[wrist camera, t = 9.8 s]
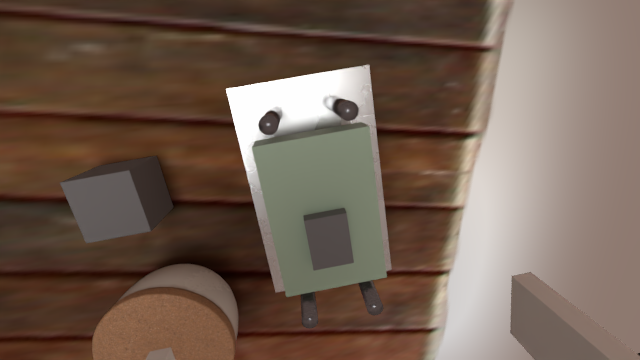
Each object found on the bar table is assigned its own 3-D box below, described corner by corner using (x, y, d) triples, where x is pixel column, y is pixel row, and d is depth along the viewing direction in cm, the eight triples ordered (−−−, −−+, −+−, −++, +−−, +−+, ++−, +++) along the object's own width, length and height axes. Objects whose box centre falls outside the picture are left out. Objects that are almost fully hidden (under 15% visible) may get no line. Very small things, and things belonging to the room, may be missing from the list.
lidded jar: (159, 227, 30) (103, 287, 21) (264, 268, 32) (254, 339, 23) (122, 315, 32) (57, 403, 23) (222, 348, 34) (198, 440, 25)
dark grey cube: (119, 217, 29) (86, 243, 24) (99, 165, 28) (59, 182, 23) (173, 207, 29) (150, 231, 25) (156, 155, 28) (129, 170, 23)
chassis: (276, 286, 33) (271, 357, 24) (228, 89, 27) (199, 91, 18) (388, 264, 33) (422, 326, 25) (366, 65, 27) (401, 56, 19)
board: (286, 278, 27) (286, 305, 24) (255, 140, 23) (249, 150, 20) (378, 260, 27) (390, 285, 24) (361, 122, 24) (373, 128, 20)
